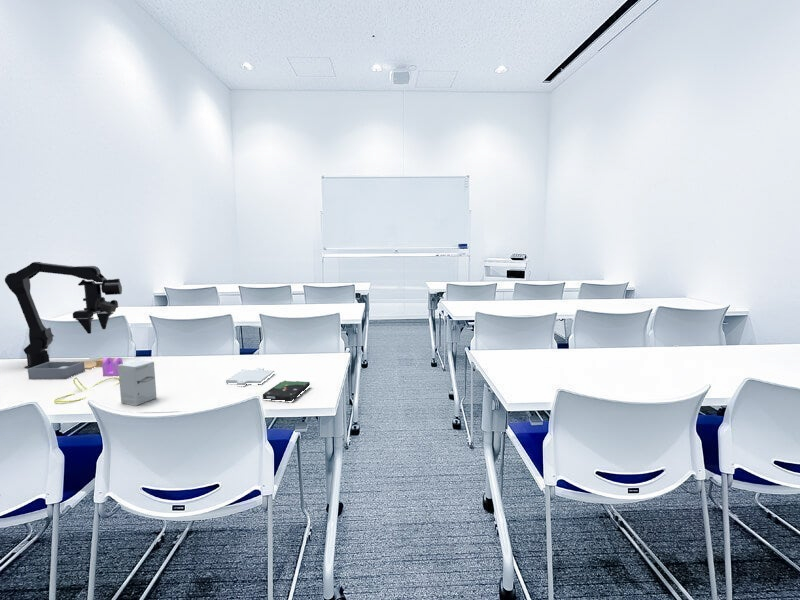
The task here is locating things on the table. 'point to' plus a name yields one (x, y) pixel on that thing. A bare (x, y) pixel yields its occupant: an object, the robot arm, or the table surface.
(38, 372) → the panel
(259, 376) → the mounting plate
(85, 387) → the yellow cable
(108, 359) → the bracket
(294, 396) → the disk drive
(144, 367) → the supplement box
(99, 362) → the tan board with handle
